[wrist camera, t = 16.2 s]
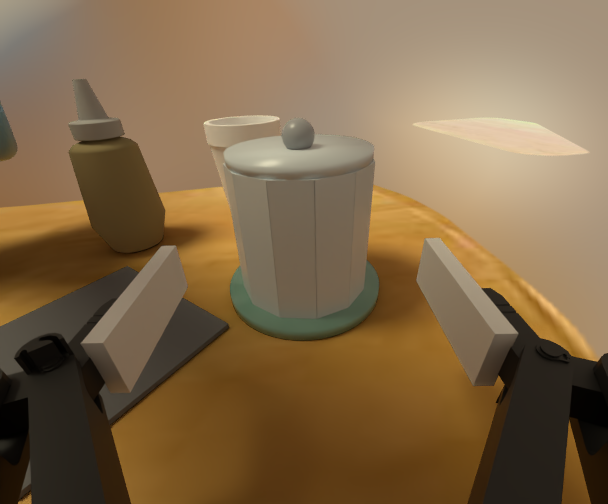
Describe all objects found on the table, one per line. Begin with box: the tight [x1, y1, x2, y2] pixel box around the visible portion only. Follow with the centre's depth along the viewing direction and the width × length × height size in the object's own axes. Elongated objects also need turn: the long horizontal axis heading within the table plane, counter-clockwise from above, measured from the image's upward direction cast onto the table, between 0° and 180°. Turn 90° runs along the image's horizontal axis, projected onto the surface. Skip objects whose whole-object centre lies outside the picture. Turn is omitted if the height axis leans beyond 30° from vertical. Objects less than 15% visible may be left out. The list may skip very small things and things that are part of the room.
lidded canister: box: [223, 118, 375, 319], centre depth 25 cm, size 11×11×14 cm
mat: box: [0, 266, 229, 499], centre depth 23 cm, size 16×14×1 cm
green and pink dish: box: [230, 260, 379, 340], centre depth 28 cm, size 14×14×5 cm
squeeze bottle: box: [68, 79, 165, 253], centre depth 33 cm, size 8×8×18 cm
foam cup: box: [204, 116, 281, 210], centre depth 41 cm, size 10×9×13 cm
